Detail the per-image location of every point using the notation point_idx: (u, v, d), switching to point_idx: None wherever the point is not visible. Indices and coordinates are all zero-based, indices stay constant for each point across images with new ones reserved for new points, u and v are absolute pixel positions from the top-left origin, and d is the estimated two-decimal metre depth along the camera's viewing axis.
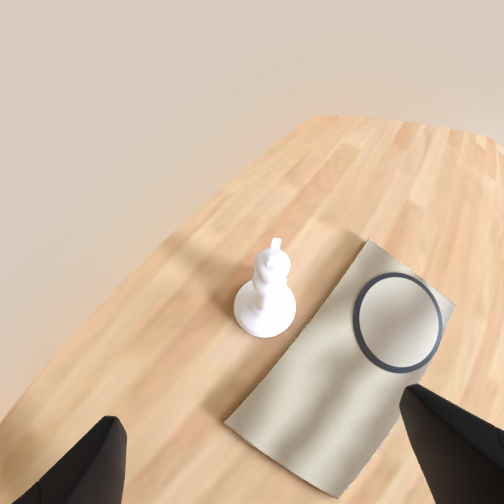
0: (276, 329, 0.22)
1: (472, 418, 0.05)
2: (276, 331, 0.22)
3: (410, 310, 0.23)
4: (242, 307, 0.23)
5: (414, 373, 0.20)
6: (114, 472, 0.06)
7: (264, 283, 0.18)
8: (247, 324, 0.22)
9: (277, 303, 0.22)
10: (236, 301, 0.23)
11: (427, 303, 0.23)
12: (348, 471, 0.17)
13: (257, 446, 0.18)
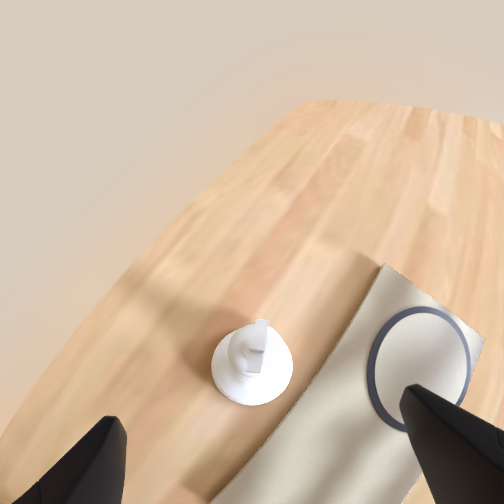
0: (268, 397, 0.16)
1: (472, 418, 0.05)
2: (268, 400, 0.16)
3: (436, 354, 0.17)
4: (222, 371, 0.16)
5: None
6: (114, 472, 0.06)
7: None
8: (229, 393, 0.16)
9: None
10: (213, 362, 0.17)
11: (454, 342, 0.17)
12: None
13: None
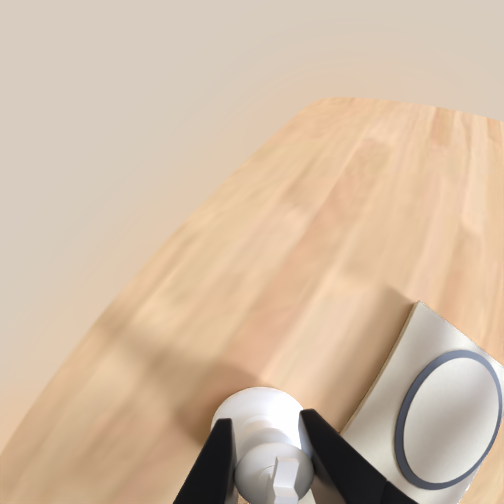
0: None
1: (360, 463, 0.05)
2: None
3: (469, 404, 0.12)
4: None
5: (462, 482, 0.10)
6: None
7: None
8: None
9: None
10: None
11: (488, 387, 0.13)
12: None
13: None
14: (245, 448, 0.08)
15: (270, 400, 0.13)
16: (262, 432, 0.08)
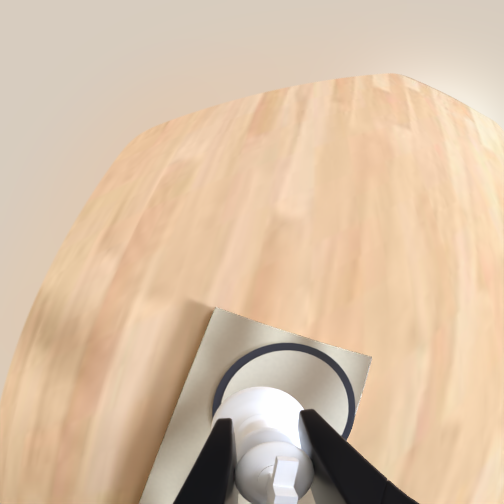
0: None
1: (360, 463, 0.05)
2: None
3: (297, 394, 0.17)
4: None
5: None
6: None
7: None
8: None
9: None
10: None
11: (324, 374, 0.17)
12: None
13: None
14: (245, 447, 0.08)
15: (270, 399, 0.13)
16: (262, 431, 0.08)
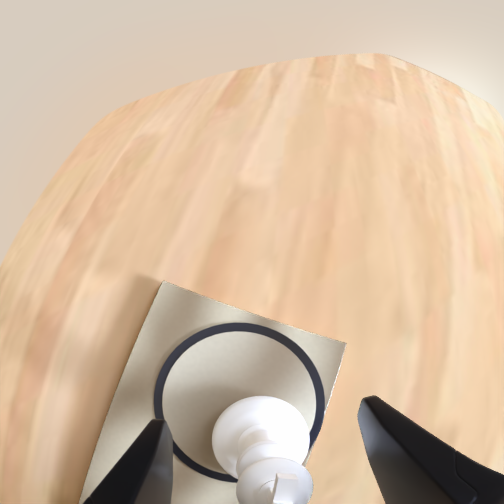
0: None
1: (429, 438, 0.05)
2: None
3: (252, 384, 0.14)
4: (225, 451, 0.12)
5: None
6: (165, 478, 0.06)
7: None
8: (234, 473, 0.11)
9: None
10: (215, 440, 0.12)
11: (286, 361, 0.15)
12: None
13: None
14: (246, 460, 0.08)
15: (270, 409, 0.13)
16: (263, 445, 0.08)
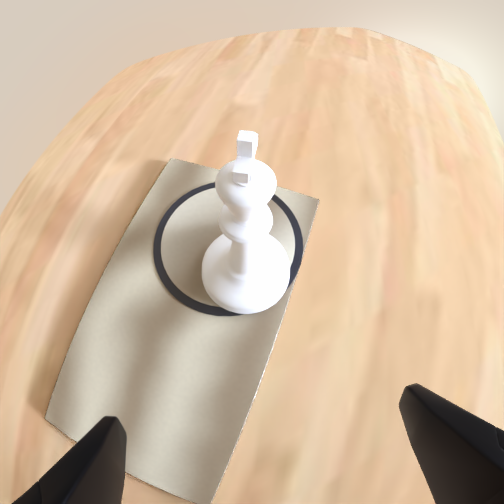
0: (263, 301, 0.15)
1: (472, 418, 0.05)
2: (263, 304, 0.15)
3: None
4: (212, 270, 0.16)
5: (266, 310, 0.16)
6: (114, 472, 0.06)
7: (237, 221, 0.11)
8: (220, 295, 0.15)
9: (262, 261, 0.15)
10: (204, 263, 0.16)
11: None
12: (205, 469, 0.12)
13: None
14: (227, 206, 0.12)
15: None
16: None
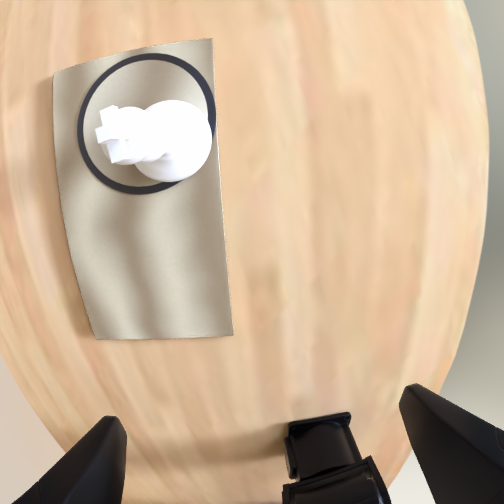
0: (195, 164, 0.16)
1: (472, 418, 0.05)
2: (197, 166, 0.16)
3: (144, 100, 0.15)
4: None
5: (202, 165, 0.17)
6: (114, 472, 0.06)
7: None
8: (159, 176, 0.16)
9: (179, 137, 0.14)
10: None
11: (165, 70, 0.15)
12: (216, 308, 0.20)
13: (129, 338, 0.21)
14: None
15: (161, 109, 0.15)
16: None
